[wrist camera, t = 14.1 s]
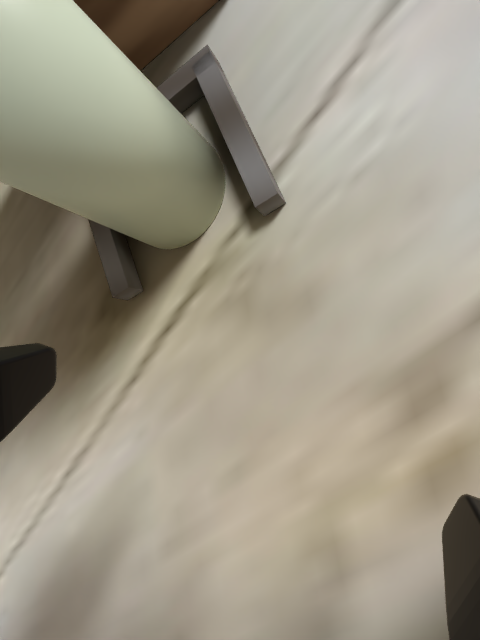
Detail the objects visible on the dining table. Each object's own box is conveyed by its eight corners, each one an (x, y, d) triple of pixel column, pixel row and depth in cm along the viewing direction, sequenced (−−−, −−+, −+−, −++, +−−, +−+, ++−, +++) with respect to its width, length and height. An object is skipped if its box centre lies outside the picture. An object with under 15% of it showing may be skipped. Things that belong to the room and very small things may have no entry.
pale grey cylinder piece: (182, 270, 20) (-143, 149, 8) (112, 216, 23) (-215, 65, 11) (248, 164, 19) (-21, -149, 7) (166, 120, 21) (-133, -167, 10)
